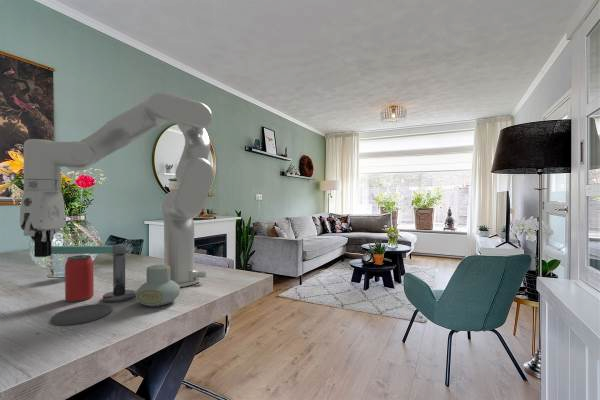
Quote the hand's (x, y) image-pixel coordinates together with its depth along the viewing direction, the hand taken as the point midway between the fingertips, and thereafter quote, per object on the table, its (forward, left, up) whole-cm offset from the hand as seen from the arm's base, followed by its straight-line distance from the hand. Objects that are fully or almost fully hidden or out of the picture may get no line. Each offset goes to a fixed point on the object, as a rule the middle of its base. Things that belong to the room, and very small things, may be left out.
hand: (43, 256), depth 81 cm
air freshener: (-30, -1, -14) cm, 32 cm away
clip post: (-17, -6, -13) cm, 22 cm away
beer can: (-6, -6, -14) cm, 16 cm away
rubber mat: (-15, +7, -13) cm, 21 cm away
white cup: (+11, -31, -14) cm, 36 cm away
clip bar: (-7, -6, 0) cm, 9 cm away
